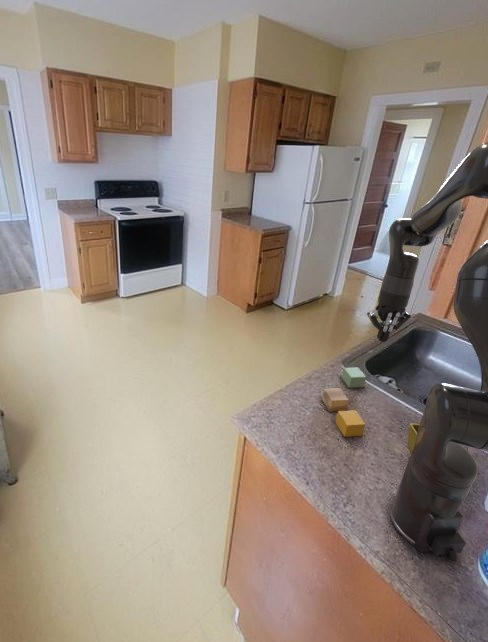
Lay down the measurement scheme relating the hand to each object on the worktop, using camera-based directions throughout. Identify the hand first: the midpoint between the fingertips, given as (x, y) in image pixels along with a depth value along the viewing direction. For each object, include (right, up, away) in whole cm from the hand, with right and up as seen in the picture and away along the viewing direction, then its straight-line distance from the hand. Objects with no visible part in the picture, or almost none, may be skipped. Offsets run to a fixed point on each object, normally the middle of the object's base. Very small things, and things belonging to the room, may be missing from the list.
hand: (381, 340), depth 99 cm
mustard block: (-16, -22, -12) cm, 29 cm away
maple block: (-16, -19, -4) cm, 25 cm away
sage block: (-6, -15, +6) cm, 17 cm away
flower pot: (-1, -27, -22) cm, 35 cm away
